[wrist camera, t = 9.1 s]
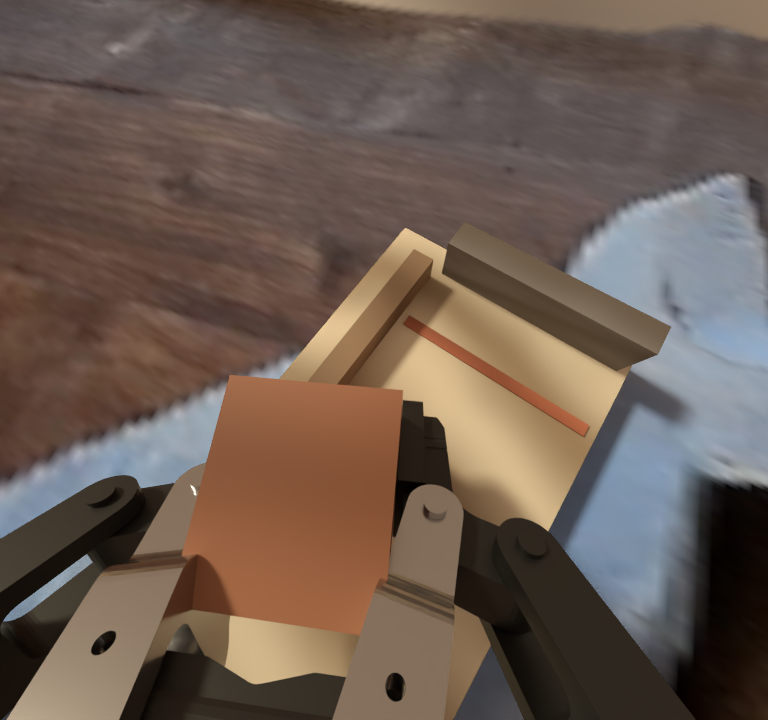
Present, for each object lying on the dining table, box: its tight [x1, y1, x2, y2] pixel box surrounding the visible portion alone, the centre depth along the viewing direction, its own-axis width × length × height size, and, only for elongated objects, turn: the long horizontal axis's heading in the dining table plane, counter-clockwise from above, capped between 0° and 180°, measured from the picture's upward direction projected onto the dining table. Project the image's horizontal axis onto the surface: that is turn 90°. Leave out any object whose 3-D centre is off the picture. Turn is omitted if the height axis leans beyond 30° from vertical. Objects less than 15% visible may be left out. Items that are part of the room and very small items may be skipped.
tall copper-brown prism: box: [182, 375, 403, 635], centre depth 10 cm, size 5×4×8 cm
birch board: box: [225, 222, 671, 720], centre depth 13 cm, size 23×14×4 cm, turn 144°
